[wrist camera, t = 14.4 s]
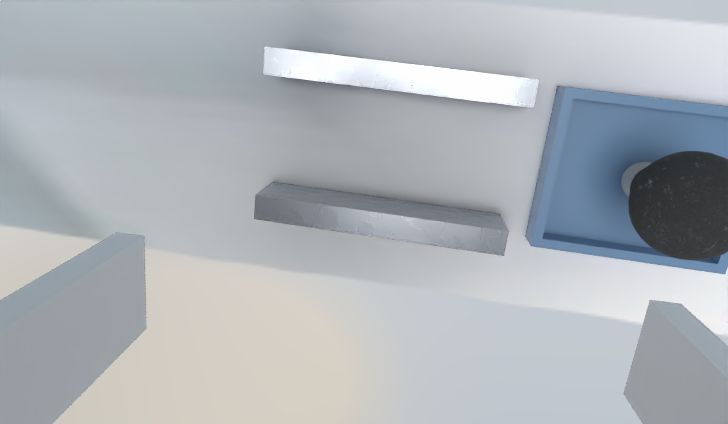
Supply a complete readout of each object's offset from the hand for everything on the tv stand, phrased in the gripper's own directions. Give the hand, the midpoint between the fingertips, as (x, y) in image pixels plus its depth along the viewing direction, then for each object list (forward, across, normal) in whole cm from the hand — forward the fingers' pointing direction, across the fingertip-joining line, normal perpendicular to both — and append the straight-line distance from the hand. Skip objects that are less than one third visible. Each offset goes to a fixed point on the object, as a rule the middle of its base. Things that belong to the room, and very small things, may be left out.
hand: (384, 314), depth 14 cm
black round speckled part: (+22, +15, +1) cm, 27 cm away
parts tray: (+23, +15, +1) cm, 27 cm away
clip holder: (+23, -1, +1) cm, 23 cm away
